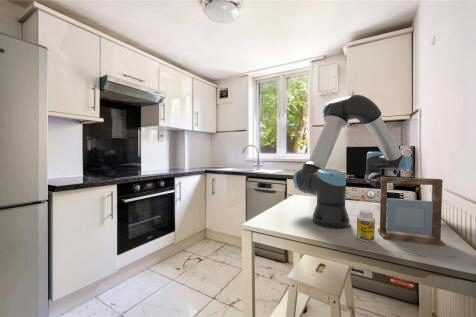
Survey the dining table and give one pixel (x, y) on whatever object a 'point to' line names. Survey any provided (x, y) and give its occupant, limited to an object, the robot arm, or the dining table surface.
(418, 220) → the panel
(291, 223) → the dining table surface
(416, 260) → the dining table surface
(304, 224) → the dining table surface
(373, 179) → the robot arm
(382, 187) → the gate frame
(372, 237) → the supplement bottle
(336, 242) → the dining table surface
